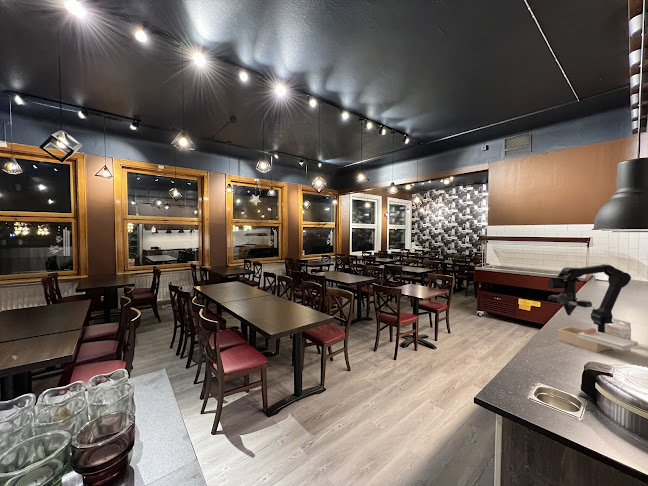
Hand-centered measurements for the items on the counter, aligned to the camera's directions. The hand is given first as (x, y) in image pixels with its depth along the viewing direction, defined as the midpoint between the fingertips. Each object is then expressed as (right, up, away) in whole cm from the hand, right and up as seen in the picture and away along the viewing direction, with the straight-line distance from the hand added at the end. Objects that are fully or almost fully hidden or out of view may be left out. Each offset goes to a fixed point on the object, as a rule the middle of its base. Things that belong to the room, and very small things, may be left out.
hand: (568, 315), depth 157 cm
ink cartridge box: (+9, -13, -17) cm, 23 cm away
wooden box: (-3, -12, -12) cm, 18 cm away
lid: (0, -8, -21) cm, 22 cm away
